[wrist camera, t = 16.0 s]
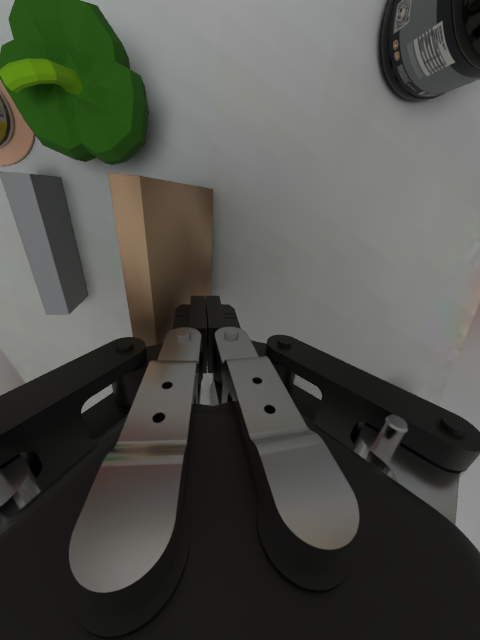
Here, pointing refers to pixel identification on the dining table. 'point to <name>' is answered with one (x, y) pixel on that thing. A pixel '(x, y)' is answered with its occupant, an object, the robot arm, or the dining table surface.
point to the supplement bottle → (5, 122)
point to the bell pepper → (74, 81)
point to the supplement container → (430, 46)
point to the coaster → (16, 135)
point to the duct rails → (47, 239)
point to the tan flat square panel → (161, 248)
